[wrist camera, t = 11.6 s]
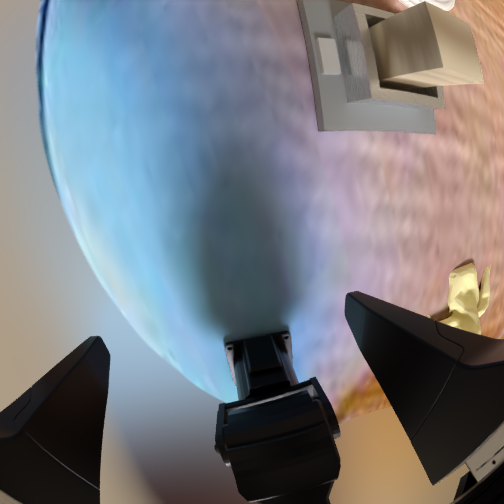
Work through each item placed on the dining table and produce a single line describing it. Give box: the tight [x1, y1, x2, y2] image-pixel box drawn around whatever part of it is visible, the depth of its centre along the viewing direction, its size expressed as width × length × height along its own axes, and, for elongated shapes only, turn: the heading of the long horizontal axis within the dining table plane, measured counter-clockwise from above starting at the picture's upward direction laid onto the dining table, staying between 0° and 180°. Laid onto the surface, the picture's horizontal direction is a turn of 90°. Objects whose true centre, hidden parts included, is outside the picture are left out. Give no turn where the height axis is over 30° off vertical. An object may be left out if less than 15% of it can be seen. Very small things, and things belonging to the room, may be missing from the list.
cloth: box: [426, 263, 491, 335], centre depth 29 cm, size 22×19×6 cm
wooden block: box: [369, 1, 484, 90], centre depth 12 cm, size 4×4×9 cm
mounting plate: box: [297, 0, 436, 134], centre depth 17 cm, size 12×12×2 cm
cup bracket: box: [332, 3, 445, 110], centre depth 15 cm, size 8×8×4 cm
